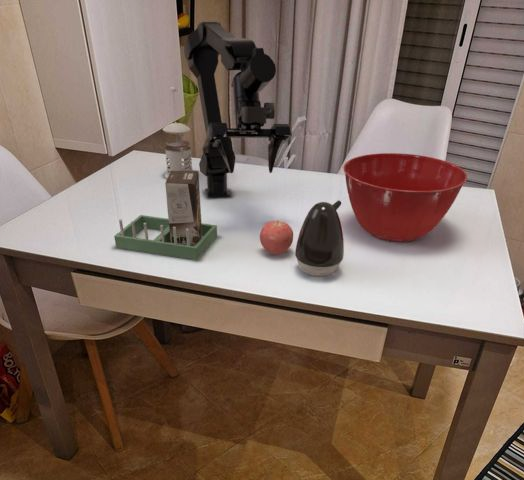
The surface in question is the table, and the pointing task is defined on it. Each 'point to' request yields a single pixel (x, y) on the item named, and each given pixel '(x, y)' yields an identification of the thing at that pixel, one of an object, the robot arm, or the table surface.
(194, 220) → the coffee box
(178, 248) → the dish rack
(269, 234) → the apple
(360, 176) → the mixing bowl
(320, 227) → the pump dispenser
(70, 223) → the table surface
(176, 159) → the french press
